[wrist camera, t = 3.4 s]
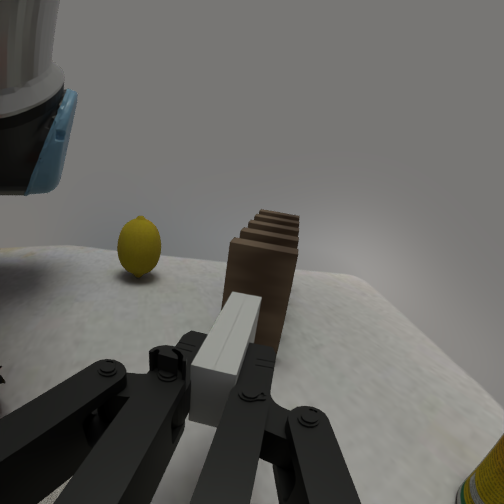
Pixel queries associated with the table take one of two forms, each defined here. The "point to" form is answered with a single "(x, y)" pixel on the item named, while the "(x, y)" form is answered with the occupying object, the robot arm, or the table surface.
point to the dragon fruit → (1, 379)
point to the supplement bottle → (485, 479)
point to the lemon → (139, 246)
